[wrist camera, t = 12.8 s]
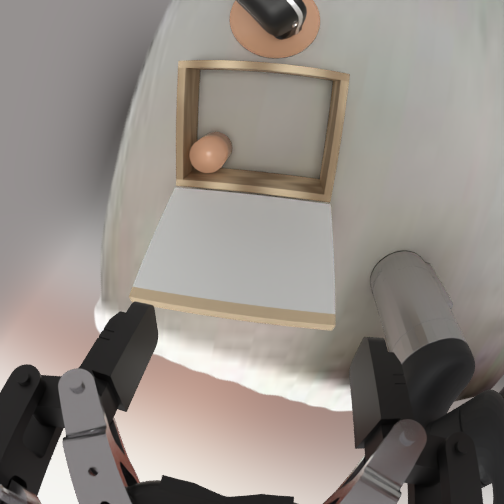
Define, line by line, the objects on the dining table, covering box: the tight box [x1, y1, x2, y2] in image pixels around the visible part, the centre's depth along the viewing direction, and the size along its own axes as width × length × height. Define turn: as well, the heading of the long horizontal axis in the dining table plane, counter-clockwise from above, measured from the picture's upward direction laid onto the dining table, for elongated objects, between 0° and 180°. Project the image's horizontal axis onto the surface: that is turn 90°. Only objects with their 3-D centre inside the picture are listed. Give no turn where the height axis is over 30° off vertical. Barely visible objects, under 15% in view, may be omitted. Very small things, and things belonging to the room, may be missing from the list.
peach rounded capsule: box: [189, 132, 232, 173], centre depth 34 cm, size 4×4×4 cm
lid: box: [129, 187, 335, 330], centre depth 29 cm, size 17×14×1 cm
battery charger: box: [236, 0, 307, 40], centre depth 22 cm, size 7×4×11 cm, turn 39°
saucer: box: [230, 0, 320, 58], centre depth 27 cm, size 10×10×1 cm
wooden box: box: [176, 60, 350, 203], centre depth 32 cm, size 17×14×6 cm
